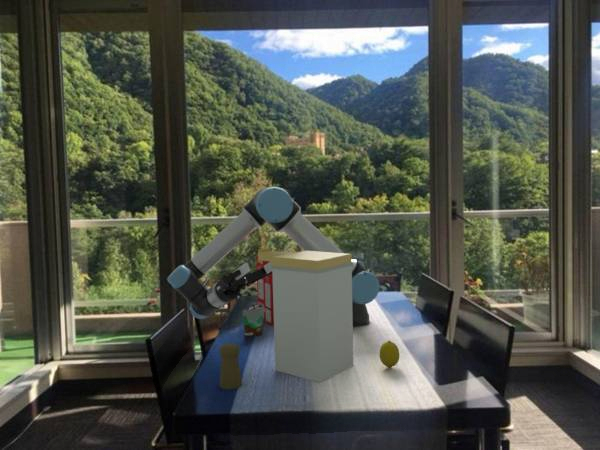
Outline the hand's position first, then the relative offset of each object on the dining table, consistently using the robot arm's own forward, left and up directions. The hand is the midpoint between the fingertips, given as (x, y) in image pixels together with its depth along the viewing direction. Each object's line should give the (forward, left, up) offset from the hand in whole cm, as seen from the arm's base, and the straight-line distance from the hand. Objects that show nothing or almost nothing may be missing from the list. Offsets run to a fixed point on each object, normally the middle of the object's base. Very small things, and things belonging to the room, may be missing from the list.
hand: (264, 263), depth 160 cm
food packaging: (-25, -36, -29) cm, 53 cm away
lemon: (-21, +31, -29) cm, 48 cm away
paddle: (-4, +12, +1) cm, 13 cm away
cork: (+20, +13, -29) cm, 38 cm away
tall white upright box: (-5, +17, -29) cm, 34 cm away
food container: (-11, -24, -29) cm, 39 cm away
